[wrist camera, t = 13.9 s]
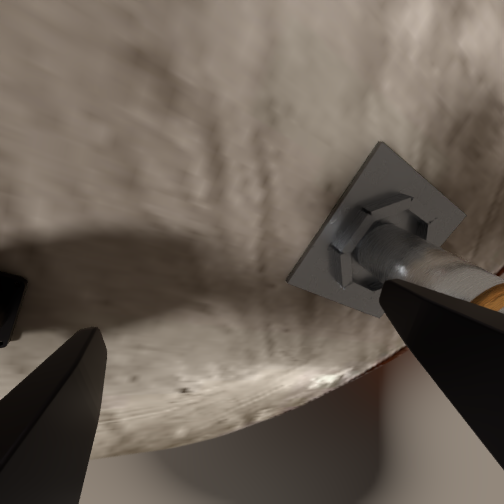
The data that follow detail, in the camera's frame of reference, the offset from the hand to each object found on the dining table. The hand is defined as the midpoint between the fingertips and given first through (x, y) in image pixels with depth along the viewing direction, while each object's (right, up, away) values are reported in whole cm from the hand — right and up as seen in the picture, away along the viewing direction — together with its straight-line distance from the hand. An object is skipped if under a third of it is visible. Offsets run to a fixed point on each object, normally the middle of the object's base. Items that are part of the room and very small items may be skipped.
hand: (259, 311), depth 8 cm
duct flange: (+12, +2, +18) cm, 22 cm away
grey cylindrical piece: (+12, +2, +17) cm, 21 cm away
